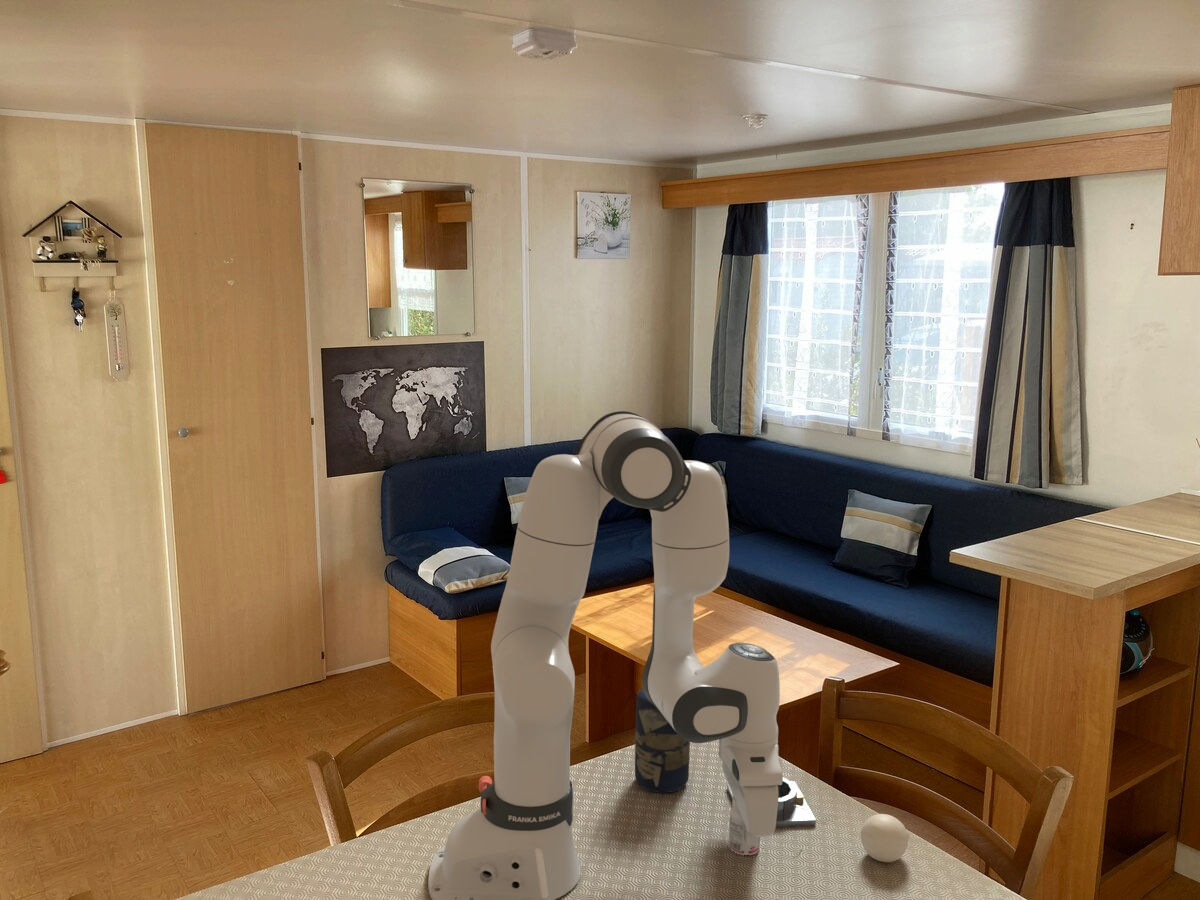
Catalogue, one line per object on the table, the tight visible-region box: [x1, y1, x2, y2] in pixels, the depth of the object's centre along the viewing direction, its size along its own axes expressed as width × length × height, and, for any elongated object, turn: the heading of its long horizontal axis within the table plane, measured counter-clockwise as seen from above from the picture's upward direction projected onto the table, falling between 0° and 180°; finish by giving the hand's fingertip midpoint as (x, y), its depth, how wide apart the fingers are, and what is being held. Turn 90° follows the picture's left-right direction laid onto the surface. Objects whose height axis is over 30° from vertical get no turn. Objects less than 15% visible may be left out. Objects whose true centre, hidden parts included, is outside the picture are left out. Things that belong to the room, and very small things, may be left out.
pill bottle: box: [728, 796, 761, 856], centre depth 150 cm, size 5×5×8 cm
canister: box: [634, 687, 691, 793], centre depth 168 cm, size 10×10×18 cm
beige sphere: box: [860, 813, 910, 863], centre depth 148 cm, size 7×7×7 cm
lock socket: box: [726, 777, 817, 828], centre depth 162 cm, size 12×12×4 cm
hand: (745, 829), depth 150 cm, fingers open, 6 cm apart
